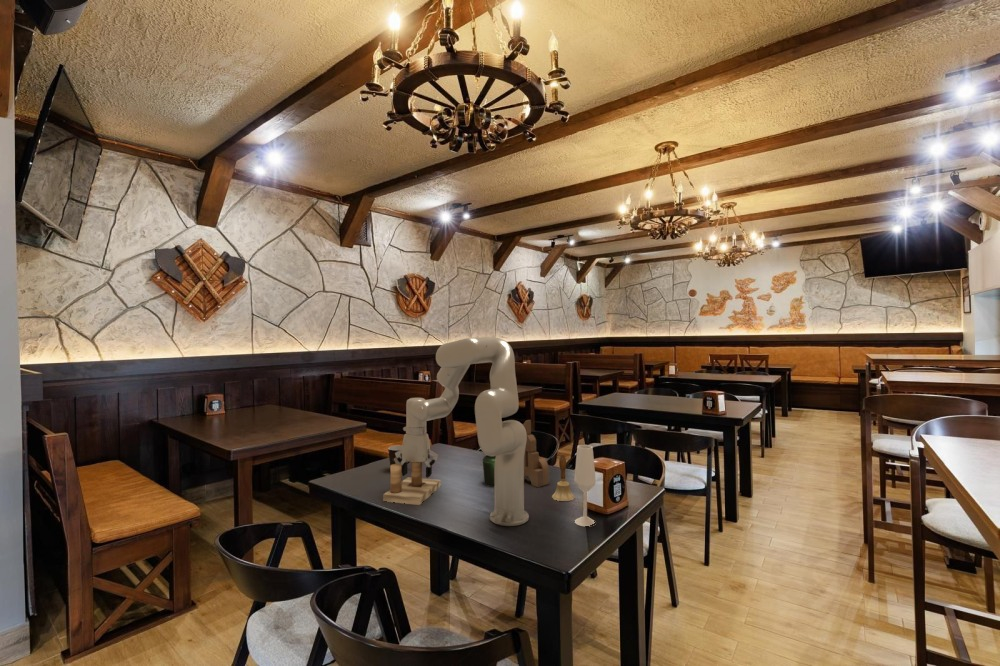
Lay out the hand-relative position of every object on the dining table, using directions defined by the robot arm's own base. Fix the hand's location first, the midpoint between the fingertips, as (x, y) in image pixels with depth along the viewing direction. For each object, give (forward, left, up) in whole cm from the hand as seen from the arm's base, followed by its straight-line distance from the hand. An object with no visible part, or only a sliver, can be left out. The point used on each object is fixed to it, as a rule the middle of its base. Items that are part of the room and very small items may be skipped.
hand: (416, 475), depth 175 cm
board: (-3, 0, -6) cm, 7 cm away
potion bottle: (+15, -26, -6) cm, 31 cm away
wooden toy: (+22, -40, -6) cm, 46 cm away
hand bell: (+6, -55, -6) cm, 56 cm away
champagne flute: (-14, -64, -6) cm, 66 cm away
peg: (0, 0, -6) cm, 6 cm away
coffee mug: (+22, +17, -6) cm, 28 cm away
